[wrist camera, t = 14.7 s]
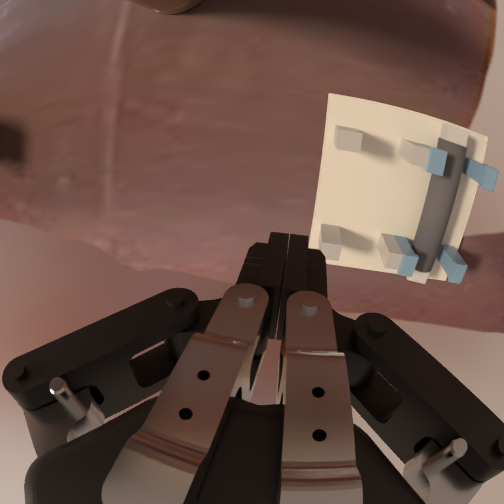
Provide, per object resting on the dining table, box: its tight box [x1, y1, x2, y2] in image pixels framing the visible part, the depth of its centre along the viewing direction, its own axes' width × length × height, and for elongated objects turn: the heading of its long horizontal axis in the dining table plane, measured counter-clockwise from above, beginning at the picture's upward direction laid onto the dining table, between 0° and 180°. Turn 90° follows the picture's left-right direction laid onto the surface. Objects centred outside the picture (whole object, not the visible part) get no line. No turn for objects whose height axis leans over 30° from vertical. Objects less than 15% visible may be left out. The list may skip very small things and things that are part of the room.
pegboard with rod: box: [308, 93, 499, 284], centre depth 29 cm, size 21×21×6 cm
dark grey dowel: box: [407, 123, 469, 284], centre depth 29 cm, size 20×4×4 cm, turn 176°
